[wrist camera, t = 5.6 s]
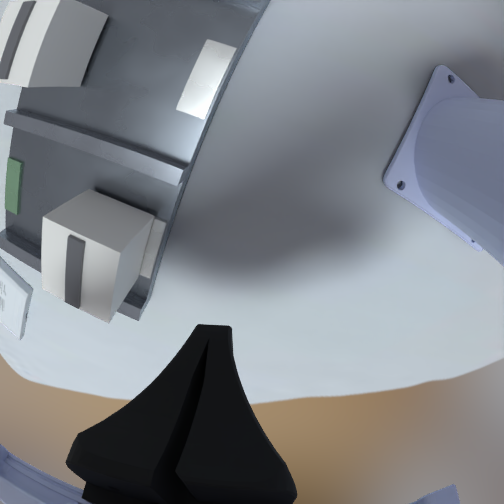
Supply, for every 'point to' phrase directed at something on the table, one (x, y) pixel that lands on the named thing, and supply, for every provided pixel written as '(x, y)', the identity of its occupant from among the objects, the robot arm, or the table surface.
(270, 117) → the table surface
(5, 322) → the external hard drive
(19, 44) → the block
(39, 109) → the panel
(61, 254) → the breaker
